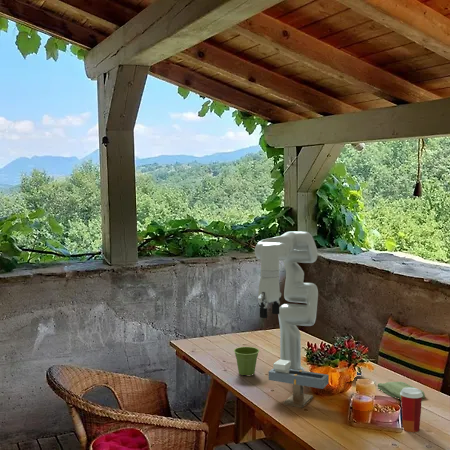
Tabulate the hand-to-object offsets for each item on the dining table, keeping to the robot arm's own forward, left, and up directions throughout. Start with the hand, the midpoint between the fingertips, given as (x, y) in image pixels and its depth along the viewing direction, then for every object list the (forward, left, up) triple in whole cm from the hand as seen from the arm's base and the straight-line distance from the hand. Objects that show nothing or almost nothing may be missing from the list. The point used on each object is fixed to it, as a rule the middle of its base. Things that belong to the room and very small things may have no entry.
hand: (269, 315), depth 236 cm
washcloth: (+14, +53, -34) cm, 64 cm away
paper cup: (+46, +36, -34) cm, 67 cm away
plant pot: (-29, 0, -34) cm, 44 cm away
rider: (+4, +4, -23) cm, 24 cm away
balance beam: (+9, +9, -34) cm, 36 cm away
